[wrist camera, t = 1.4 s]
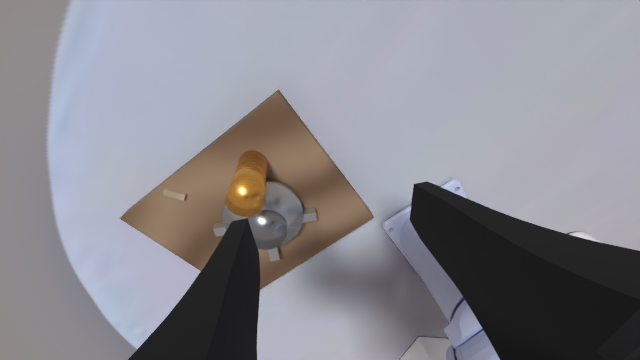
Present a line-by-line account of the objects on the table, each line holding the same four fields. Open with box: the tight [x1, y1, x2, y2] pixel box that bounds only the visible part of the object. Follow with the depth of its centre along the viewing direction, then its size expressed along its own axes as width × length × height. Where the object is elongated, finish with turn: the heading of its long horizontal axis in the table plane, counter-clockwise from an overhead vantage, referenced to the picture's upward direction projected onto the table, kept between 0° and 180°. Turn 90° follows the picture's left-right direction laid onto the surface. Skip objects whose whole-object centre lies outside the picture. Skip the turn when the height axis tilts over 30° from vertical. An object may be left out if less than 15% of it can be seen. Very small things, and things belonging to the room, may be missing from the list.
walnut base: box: [120, 90, 374, 289], centre depth 20 cm, size 13×15×1 cm
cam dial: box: [213, 150, 317, 261], centre depth 17 cm, size 10×8×5 cm
